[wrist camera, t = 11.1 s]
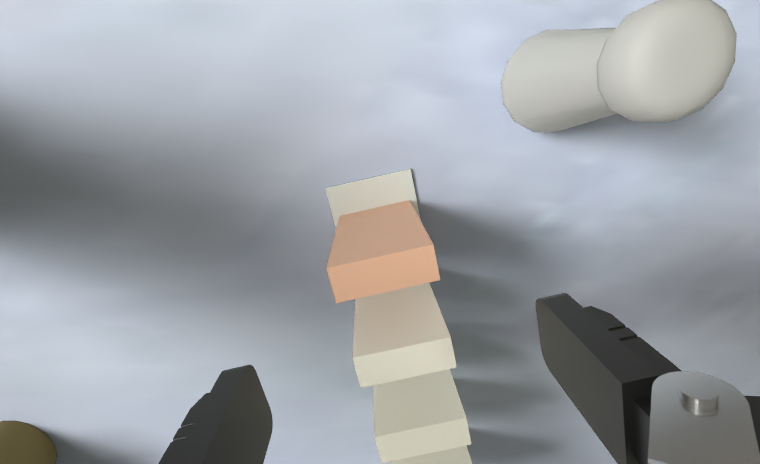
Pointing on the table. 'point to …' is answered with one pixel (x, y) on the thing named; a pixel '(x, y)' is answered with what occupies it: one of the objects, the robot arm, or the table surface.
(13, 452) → the cork
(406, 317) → the domino
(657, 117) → the salt shaker
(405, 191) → the block
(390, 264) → the domino
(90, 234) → the table surface
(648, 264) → the table surface
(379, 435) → the domino
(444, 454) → the domino
